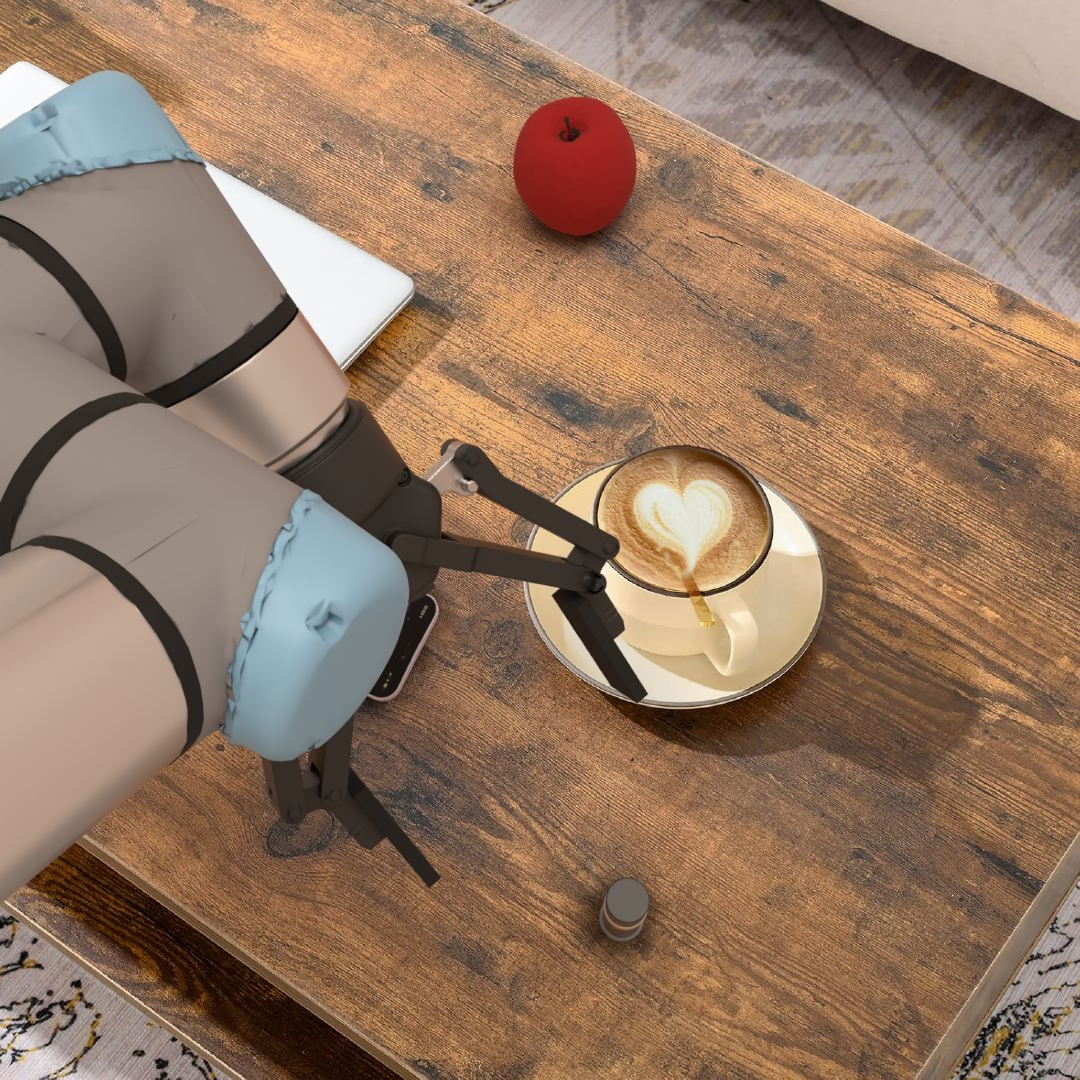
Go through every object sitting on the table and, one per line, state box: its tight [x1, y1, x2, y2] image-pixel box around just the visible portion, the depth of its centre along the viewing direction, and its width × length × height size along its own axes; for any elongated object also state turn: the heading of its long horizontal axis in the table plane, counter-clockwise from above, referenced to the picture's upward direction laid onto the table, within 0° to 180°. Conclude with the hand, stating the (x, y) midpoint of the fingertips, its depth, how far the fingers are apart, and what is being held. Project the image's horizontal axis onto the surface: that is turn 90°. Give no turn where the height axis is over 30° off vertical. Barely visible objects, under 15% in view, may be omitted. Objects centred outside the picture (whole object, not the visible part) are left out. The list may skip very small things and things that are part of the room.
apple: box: [512, 96, 637, 237], centre depth 83 cm, size 9×9×10 cm
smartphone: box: [367, 593, 440, 703], centre depth 75 cm, size 8×1×15 cm
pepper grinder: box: [598, 877, 651, 943], centre depth 62 cm, size 3×3×10 cm
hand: (530, 778), depth 58 cm, fingers open, 13 cm apart
